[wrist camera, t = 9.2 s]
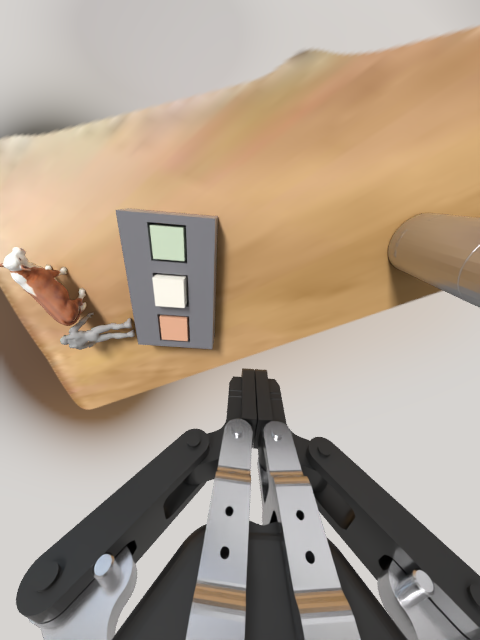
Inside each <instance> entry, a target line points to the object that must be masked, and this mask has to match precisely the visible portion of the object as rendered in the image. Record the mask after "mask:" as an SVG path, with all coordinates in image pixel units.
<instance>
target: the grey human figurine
mask: <svg viewBox="0 0 480 640" xmlns="http://www.w3.org/2000/svg"><path fill="white" fill-rule="evenodd" d="M91 315H94V313H89V314H88V315H87V316H86V317H83V318H82V319H81V320H80V321H79V322H78V323H77V324H76V325H75V326H73V327H71V328H70V330H69V333H70V334H69V335H67V336H66V335H64V336H63V337H62V338H61V339H60V342H61V344H64V345H67V344H69V347H70V348H76V349H80V350H81V349H84V348H87V347H89V348H90V347H92V346H93V345H94V344H95V343H96V342H102V341H106V340H108V339H111V338H116V339H121V338H127V337H134V336H135V333H134V330H131V331H130V332H128V333H106V334H100V333H103V332H106V331H108V330H110V329H113V330H119V329H121V328H123V329H124V328H132V325H131V324H132V322H131V318H129V319H128V320H127V321H126V322H124V324H123V323H122V324H116V323H111V324H108V325H100V326H97V327H93V328H91V330H87V331H78V329H79V328H80V327H81V326H82V325H84V324H85V323H86V321H87V319H88V318H92V317H90V316H91ZM88 341H89V342H88Z"/></svg>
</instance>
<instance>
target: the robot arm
mask: <svg viewBox="0 0 480 640" xmlns="http://www.w3.org/2000/svg"><path fill="white" fill-rule="evenodd" d="M388 256H389V260H390V262H391V264H392V265H393V266H394V267H396V268H397V269H399V270H401V271H403V272H405V273H407V274H410V275H412V276H413V277H416V278H418V279H420V280H422V281H424V282H426V283H428V284H430V285H433V286H435V287H437V288H439V289H441V290H443V291H445V292H447V293H450V294H452V295H454V296H456V297H458V298H460V299H462V300H465V301H467V302H469V303H471V304H473V305H475V306H478V307H480V218H476V217H466V216H456V215H446V214H435V213H423V214H419V215H416V216H414V217H412V218H410V219H408V220H407V221H406V222H404V223H403V224H402V225H401V226H400V227H399V228H398V229H397V230H396V232H395V233H394V235H393V237H392V239H391V241H390V244H389V247H388ZM252 447H253V448H257V449H258V455H259V457H258V472H259V480H260V489H261V498H262V507H263V508H262V509H263V512H262V522H263V525H259V524H256V523H254V522H251V521H249V510H250V490H251V475H250V469H251V449H252ZM212 479H215V480H214V486H213V492H212V497H211V503H210V509H209V514H208V520H207V524H206V525H204V526H201V527H200V528H198V529H197V530H195V531H194V532H193V533H192V534H191V535H190V536H189V537H188V538H187V539H186V540H185V541H184V542H183V544H182V545H181V546H180V548H179V549H178V550H177V552H176V553H175V554H174V556H173V557H172V558H171V560H170V561H169V562H168V564H167V565H166V567H165V568H164V569H163V571H162V572H161V573H160V575H159V576H158V578H157V579H156V580H155V581H154V583H153V584H152V586H151V587H150V588H149V590H148V591H147V592H146V594H145V595H144V596H143V598H142V599H141V600H140V602H139V603H138V605H137V606H136V607H135V609H134V610H133V611H132V613H131V614H130V616H129V617H128V618H127V620H126V621H125V623H124V624H123V625H122V626H121V628H120V629H119V630H118V632H117V633H116V635H115V628H116V624H117V621H118V618H119V616H120V613H121V611H122V609H123V607H124V606H125V605H126V603H127V601H128V600H129V598H130V597H131V595H132V593H133V590H134V588H135V584H136V579H137V568H136V562H137V561H138V560H139V559H140V558H141V557H142V556H143V554H144V553H145V552H146V551H147V550H148V549H149V548H150V546H151V545H152V544H153V543H154V542H155V541H156V540H157V538H158V537H159V536H160V535H161V534H162V533H163V532H164V530H165V529H166V528H167V527H168V526H169V525H170V524H171V522H172V521H173V520H174V519H175V518H176V517H177V516H178V514H179V513H180V512H181V511H182V510H183V509H184V508H185V506H186V505H187V504H188V503H189V502H190V501H191V499H192V498H193V497H194V496H195V495H196V494H197V493H198V491H199V490H200V489H201V488H202V487H203V486H204V485H205V483H206V482H207V481H209V480H212ZM318 510H319V511H318ZM319 512H320V513H321V514H322V515H323V516H324V518H325V519H326V520H327V521H328V522H329V524H330V525H331V526H332V527H333V528H334V530H335V531H336V532H337V533H338V534H339V535H340V537H341V538H342V539H343V540H344V541H345V543H346V544H347V545H348V546H349V547H350V548H351V550H352V551H353V552H354V553H355V555H356V556H357V557H358V558H359V559H360V561H361V562H362V563H363V564H364V565H365V566H366V568H367V569H368V570H369V571H370V572H371V574H372V575H373V576H374V577H375V578H376V580H377V581H378V590H379V595H380V598H381V600H382V603H383V605H384V608H385V609H386V610H385V609H384V608H383V607H382V605H381V604H380V603H379V601H378V600H377V599H376V598H375V596H374V595H373V593H372V592H371V591H370V590H369V588H368V587H367V586H366V584H365V583H364V582H363V580H362V579H361V578H360V577H359V575H358V574H357V573H356V572H355V570H354V569H353V567H352V566H351V565H350V563H349V562H348V561H347V560H346V558H345V557H344V556H343V554H342V553H341V552H340V551H339V549H338V548H337V547H336V546H335V545H334V544H333V543H332V542H331V541H330V540H329V539H328V538H327V537H326V535H325V531H324V528H323V524H322V521H321V518H320V514H319ZM16 604H17V608H18V610H19V612H20V613H21V614H22V615H24V616H26V617H27V618H28V619H29V621H30V622H31V623H33V624H34V625H36V626H38V627H39V628H41V631H42V635H43V638H44V640H480V576H479V575H478V574H477V573H476V572H474V570H473V569H471V568H470V567H469V566H468V565H467V564H466V563H465V562H464V561H462V560H461V559H460V558H459V557H458V556H457V555H456V554H455V553H454V552H453V551H451V550H450V549H449V548H448V547H447V546H446V545H445V544H444V543H443V542H441V541H440V540H439V539H438V538H437V537H436V536H435V535H434V534H433V533H432V532H430V531H429V530H428V529H427V528H426V527H425V526H424V525H423V524H422V523H421V522H419V521H418V520H417V519H416V518H415V517H414V516H413V515H412V514H410V513H409V512H408V511H407V510H406V509H405V508H404V507H403V506H402V505H401V504H399V503H398V502H397V501H396V500H395V499H394V498H393V497H392V496H390V494H388V493H387V492H386V491H385V490H384V489H383V488H382V487H381V486H379V485H378V484H377V483H376V482H375V481H374V480H373V479H371V477H370V476H368V475H367V474H366V473H365V472H364V471H363V470H362V469H361V468H360V467H359V466H357V465H356V464H355V463H354V462H353V461H352V460H351V459H350V458H348V457H347V456H346V455H345V454H344V453H343V452H342V451H341V450H340V449H339V448H338V447H336V446H335V445H334V444H333V443H332V442H331V441H329V440H327V439H325V438H323V437H315V438H313V439H311V441H309V440H307V439H304V438H301V437H299V436H297V435H295V434H294V433H292V431H291V430H290V429H289V428H288V426H287V424H286V419H285V414H284V408H283V403H282V397H281V392H280V386H279V385H278V383H277V382H276V380H275V379H268V377H267V370H258V369H255V370H254V369H242V377H233V378H232V380H231V381H230V383H229V396H228V409H227V419H226V423H225V424H224V426H223V427H222V428H221V429H219V430H217V431H215V432H212V433H208V434H206V433H205V432H204V431H202V430H200V429H191V430H188V431H186V432H185V433H184V434H182V435H181V436H180V437H179V438H178V439H177V440H175V441H174V442H173V443H172V444H171V445H170V446H169V447H167V448H166V449H165V450H164V451H163V452H161V453H160V454H159V455H158V456H157V457H156V458H155V459H153V460H152V461H151V462H150V463H149V464H148V465H146V466H145V467H144V468H143V469H142V470H140V471H139V472H138V473H137V474H136V475H135V476H134V477H133V478H131V479H130V480H129V481H128V482H126V483H125V484H124V485H123V486H122V487H121V488H120V489H118V490H117V491H116V492H115V493H114V494H112V495H111V496H110V497H109V498H108V499H107V500H105V501H104V502H103V503H102V504H101V505H100V506H99V507H97V508H96V509H95V510H94V511H93V512H92V513H90V514H89V515H88V516H87V517H86V518H84V519H83V520H82V521H81V522H80V523H79V524H77V525H76V526H75V527H74V528H73V529H72V530H71V531H69V532H68V533H67V534H66V535H65V536H63V537H62V538H61V539H60V540H59V541H58V542H57V543H55V544H54V545H53V546H52V547H51V548H50V549H48V550H47V551H46V552H45V553H44V554H42V555H41V556H40V557H39V558H38V559H37V560H36V561H35V562H34V563H33V564H32V566H31V567H30V568H29V569H28V571H27V573H26V574H25V575H24V577H23V579H22V581H21V583H20V586H19V589H18V592H17V597H16ZM386 611H387V612H388V613H389V614H388V613H387V612H386ZM389 615H390V616H391V617H390V616H389ZM392 619H393V620H392ZM114 635H115V636H114Z"/></svg>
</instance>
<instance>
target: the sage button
mask: <svg viewBox="0 0 480 640" xmlns="http://www.w3.org/2000/svg"><path fill="white" fill-rule="evenodd" d="M150 234H151V243H152V252H153V259H163V260H176V261H185V260H186V259H187V239H186V225H174V224H163V223H155V224H152V225H150Z"/></svg>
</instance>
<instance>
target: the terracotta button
mask: <svg viewBox="0 0 480 640" xmlns="http://www.w3.org/2000/svg"><path fill="white" fill-rule="evenodd" d="M159 318H160V327H161V336H162V339H163V340H177V341H188V339H189V336H190V326H189V316H175V315H162V314H161V315H160V317H159Z"/></svg>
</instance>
